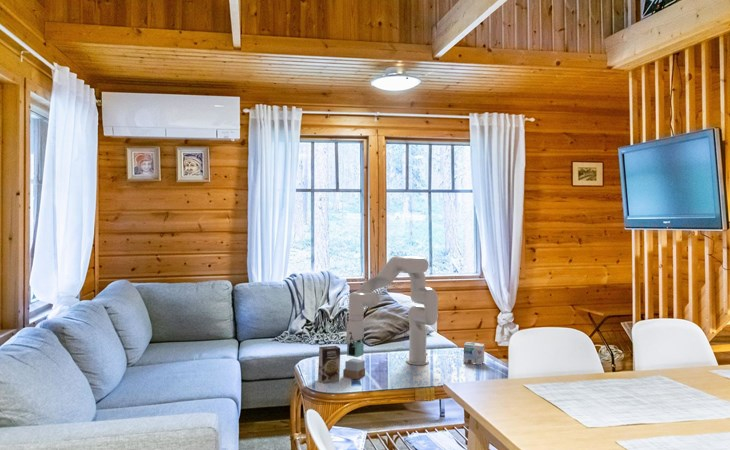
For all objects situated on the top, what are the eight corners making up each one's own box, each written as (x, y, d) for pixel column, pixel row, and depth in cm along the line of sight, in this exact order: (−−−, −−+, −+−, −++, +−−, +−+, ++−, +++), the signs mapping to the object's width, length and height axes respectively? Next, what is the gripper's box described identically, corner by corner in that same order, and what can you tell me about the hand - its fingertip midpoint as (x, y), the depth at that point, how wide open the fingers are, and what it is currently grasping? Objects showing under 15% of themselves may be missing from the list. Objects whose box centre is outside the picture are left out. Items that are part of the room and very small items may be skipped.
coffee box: (321, 383, 232) (322, 349, 232) (317, 379, 238) (318, 346, 238) (339, 381, 235) (340, 348, 236) (335, 377, 241) (336, 345, 242)
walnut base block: (351, 373, 250) (351, 365, 250) (365, 376, 246) (365, 368, 246) (343, 377, 243) (343, 369, 243) (356, 380, 239) (357, 372, 239)
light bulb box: (463, 363, 274) (463, 344, 274) (465, 360, 280) (465, 341, 280) (482, 365, 270) (482, 346, 270) (484, 362, 276) (484, 343, 276)
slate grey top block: (352, 366, 249) (353, 358, 249) (364, 368, 246) (364, 360, 246) (345, 369, 243) (345, 361, 243) (357, 371, 240) (357, 363, 240)
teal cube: (353, 353, 249) (353, 341, 249) (363, 354, 246) (363, 342, 246) (346, 355, 243) (347, 343, 243) (357, 357, 240) (357, 345, 241)
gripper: (358, 314, 254) (357, 349, 254) (340, 319, 239) (339, 356, 239) (370, 315, 251) (370, 351, 250) (353, 320, 235) (352, 358, 235)
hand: (355, 353), depth 245 cm, fingers closed on teal cube, 6 cm apart
